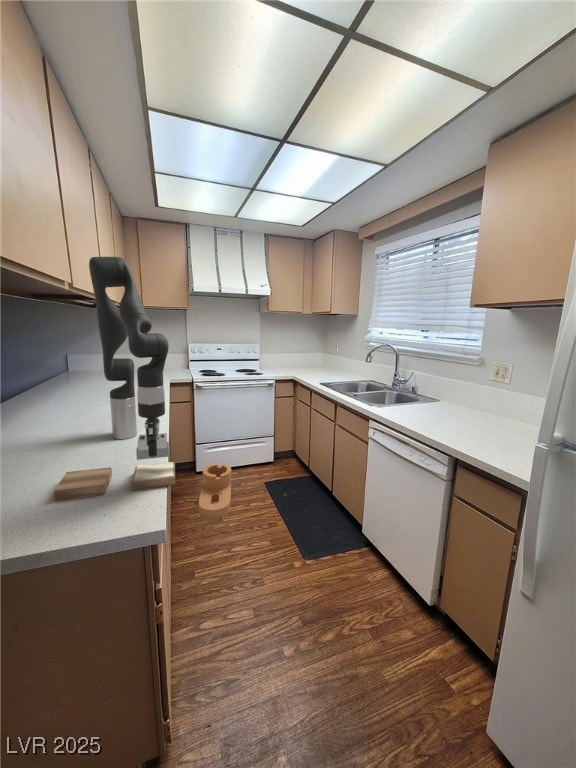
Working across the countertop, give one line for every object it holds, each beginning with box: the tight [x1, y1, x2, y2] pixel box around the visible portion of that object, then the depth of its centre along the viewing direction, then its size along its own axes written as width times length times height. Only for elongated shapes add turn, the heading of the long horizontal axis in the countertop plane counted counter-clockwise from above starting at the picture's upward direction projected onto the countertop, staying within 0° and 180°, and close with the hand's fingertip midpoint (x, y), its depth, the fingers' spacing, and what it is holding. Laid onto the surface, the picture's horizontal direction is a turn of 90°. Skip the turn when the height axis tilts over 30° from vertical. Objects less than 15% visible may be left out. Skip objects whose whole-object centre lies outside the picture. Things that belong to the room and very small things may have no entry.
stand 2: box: [131, 461, 176, 492], centre depth 97 cm, size 11×12×3 cm
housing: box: [135, 432, 170, 461], centre depth 95 cm, size 5×9×6 cm, turn 110°
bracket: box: [198, 463, 232, 520], centre depth 88 cm, size 18×8×7 cm, turn 9°
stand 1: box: [53, 466, 113, 502], centre depth 91 cm, size 11×12×3 cm
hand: (153, 452), depth 96 cm, fingers closed on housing, 5 cm apart
